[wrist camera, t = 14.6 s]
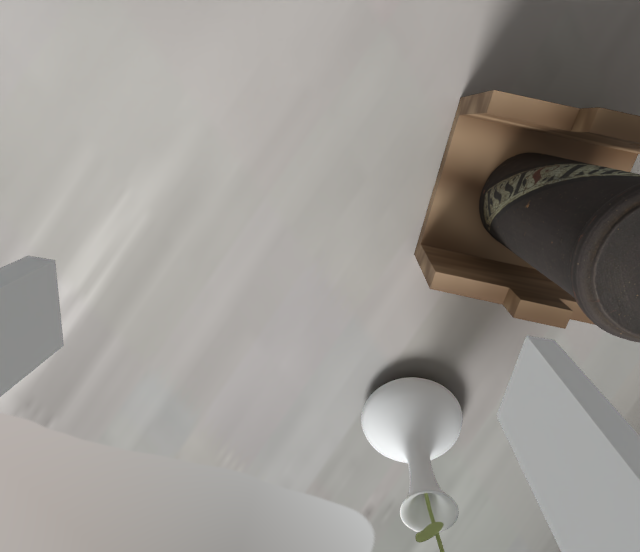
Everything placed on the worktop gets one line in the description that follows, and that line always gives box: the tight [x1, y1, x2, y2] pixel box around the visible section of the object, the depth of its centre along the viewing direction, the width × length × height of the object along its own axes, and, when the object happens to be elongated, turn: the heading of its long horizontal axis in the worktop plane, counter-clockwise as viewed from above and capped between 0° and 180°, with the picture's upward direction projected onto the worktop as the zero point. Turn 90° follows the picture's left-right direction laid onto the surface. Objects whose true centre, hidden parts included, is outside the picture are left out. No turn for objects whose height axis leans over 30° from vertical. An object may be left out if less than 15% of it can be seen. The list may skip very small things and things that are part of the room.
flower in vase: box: [361, 377, 463, 552], centre depth 38 cm, size 13×11×25 cm
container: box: [479, 153, 640, 342], centre depth 29 cm, size 9×9×20 cm
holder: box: [414, 90, 640, 329], centre depth 35 cm, size 15×16×12 cm
